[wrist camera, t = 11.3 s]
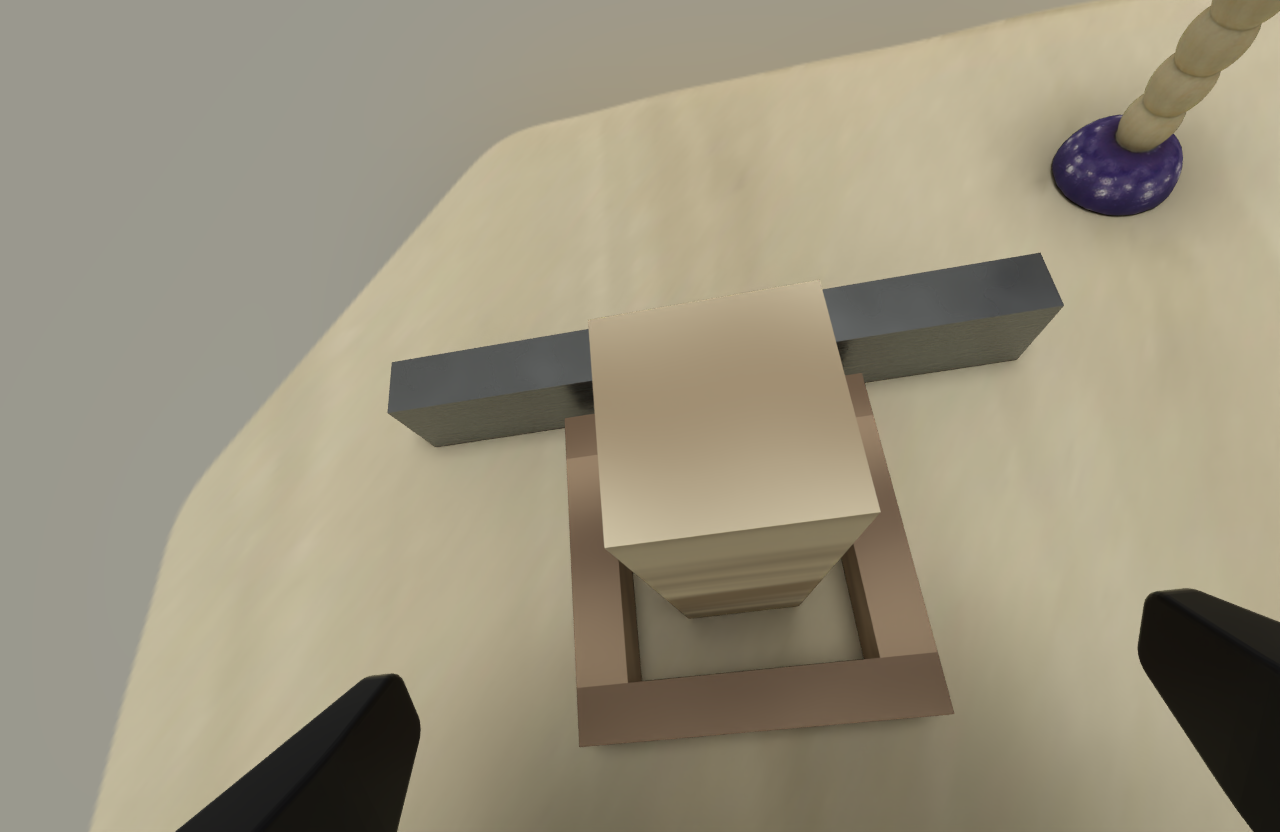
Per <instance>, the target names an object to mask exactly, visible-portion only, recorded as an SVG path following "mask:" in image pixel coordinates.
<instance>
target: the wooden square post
mask: <svg viewBox="0 0 1280 832" xmlns="http://www.w3.org/2000/svg"><path fill="white" fill-rule="evenodd" d="M588 327H589V341H590V354H591V368H592V382H593V396H594V410H595V424H596V438H597V452H598V466H599V480H600V493H601V507H602V521H603V535H604V548H605V549H606V550H607V551H609V552H610V553H611V554H612V555H613V556H615V557H616V558H617V559H618V560H619V561H621V562H622V563H623V564H624V565H625V566H627V567H628V568H629V569H630V570H631V571H633V572H634V573H635V574H636V575H637V576H639V577H640V578H641V579H642V580H643V581H644V582H646V583H647V584H648V585H649V586H650V587H652V588H653V589H654V590H655V591H656V592H658V593H659V594H660V595H661V596H662V597H664V598H665V599H666V600H667V601H668V602H670V603H671V604H672V605H673V606H674V607H676V608H677V609H678V610H679V611H680V612H682V613H683V614H684V615H685V616H686V617H688V618H689V619H690V618H699V617H708V616H717V615H725V614H734V613H743V612H751V611H760V610H769V609H777V608H786V607H795V606H799V605H800V604H801V603H802V602H803V601H804V600H805V598H806V597H807V596H808V595H809V594H810V593H811V592H812V590H813V589H814V588H815V587H816V586H817V585H818V583H819V582H820V581H821V580H822V579H823V578H824V577H825V575H826V574H827V573H828V572H829V571H830V570H831V569H832V567H833V566H834V565H835V564H836V563H837V562H838V561H839V559H840V558H841V557H842V556H843V555H844V554H845V552H846V551H847V550H848V549H849V548H850V547H851V546H852V544H853V543H854V542H855V541H856V540H857V539H858V538H859V536H860V535H861V534H862V533H863V532H864V531H865V530H866V528H867V527H868V526H869V525H870V524H871V523H872V522H873V520H874V519H875V518H876V517H877V516H878V515H879V513H880V512H881V511H880V507H879V504H878V500H877V496H876V492H875V488H874V485H873V481H872V477H871V473H870V469H869V465H868V462H867V458H866V454H865V450H864V446H863V443H862V439H861V435H860V431H859V427H858V424H857V420H856V416H855V412H854V408H853V404H852V401H851V397H850V393H849V389H848V385H847V382H846V378H845V374H844V370H843V366H842V363H841V359H840V355H839V351H838V347H837V343H836V340H835V336H834V332H833V328H832V324H831V321H830V317H829V313H828V309H827V305H826V302H825V298H824V294H823V290H822V286H821V282H820V280H814V281H808V282H803V283H797V284H791V285H785V286H780V287H774V288H768V289H762V290H757V291H751V292H745V293H739V294H734V295H728V296H722V297H716V298H711V299H705V300H699V301H693V302H688V303H682V304H676V305H670V306H665V307H659V308H653V309H647V310H642V311H636V312H630V313H624V314H619V315H613V316H607V317H601V318H596V319H590V320H588Z"/></svg>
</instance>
